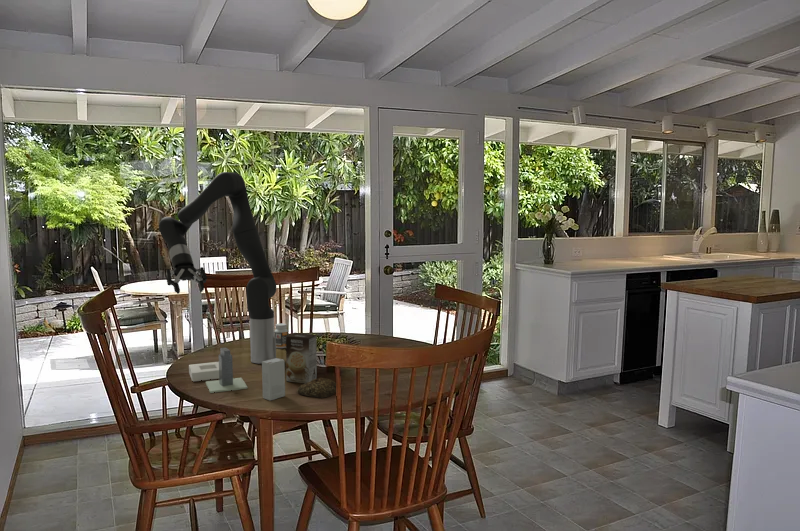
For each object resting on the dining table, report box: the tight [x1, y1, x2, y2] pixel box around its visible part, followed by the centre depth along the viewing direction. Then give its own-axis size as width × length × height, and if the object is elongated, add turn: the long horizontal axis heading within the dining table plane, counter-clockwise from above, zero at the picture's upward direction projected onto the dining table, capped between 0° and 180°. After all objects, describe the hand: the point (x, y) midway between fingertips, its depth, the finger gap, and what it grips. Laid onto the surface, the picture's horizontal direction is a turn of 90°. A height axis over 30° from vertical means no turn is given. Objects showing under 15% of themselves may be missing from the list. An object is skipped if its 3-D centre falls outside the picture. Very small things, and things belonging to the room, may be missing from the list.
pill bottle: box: [274, 322, 289, 349], centre depth 261 cm, size 6×6×10 cm
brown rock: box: [296, 377, 337, 399], centre depth 200 cm, size 13×12×5 cm
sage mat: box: [205, 377, 248, 394], centre depth 206 cm, size 12×12×1 cm
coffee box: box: [285, 332, 318, 384], centre depth 212 cm, size 9×6×16 cm
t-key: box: [218, 347, 234, 386], centre depth 205 cm, size 4×5×12 cm
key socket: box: [188, 361, 219, 382], centre depth 219 cm, size 12×12×3 cm
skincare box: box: [261, 357, 286, 401], centre depth 193 cm, size 6×4×12 cm
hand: (190, 291), depth 228 cm, fingers open, 8 cm apart
